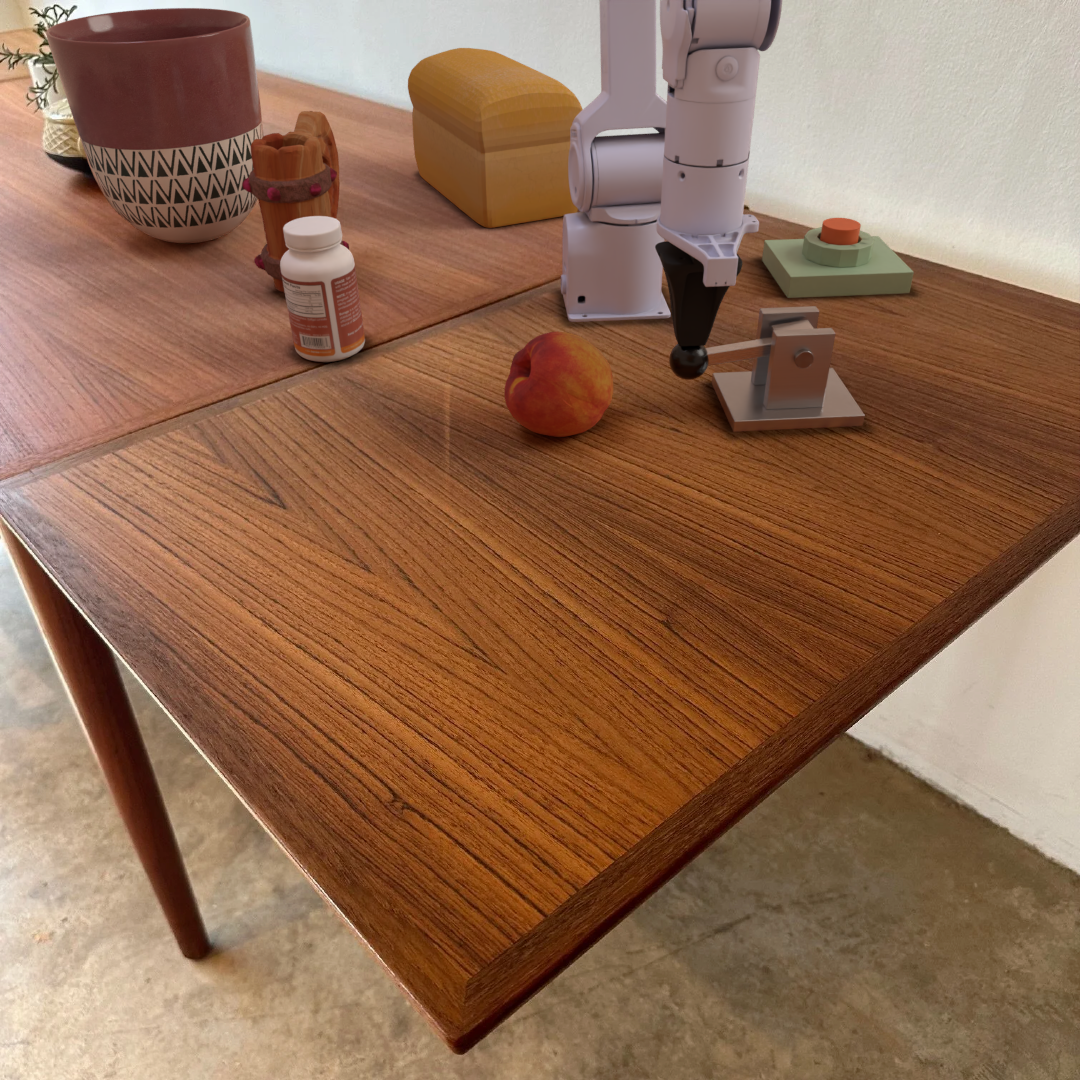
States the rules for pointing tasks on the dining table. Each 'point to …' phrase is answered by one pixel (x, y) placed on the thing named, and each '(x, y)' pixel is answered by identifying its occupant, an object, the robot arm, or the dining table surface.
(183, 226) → the planter
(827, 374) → the bracket
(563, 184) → the bread
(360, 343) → the pill bottle
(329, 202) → the mug
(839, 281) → the button block
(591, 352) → the fruit
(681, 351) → the tap lever
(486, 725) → the dining table surface
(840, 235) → the button
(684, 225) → the robot arm
